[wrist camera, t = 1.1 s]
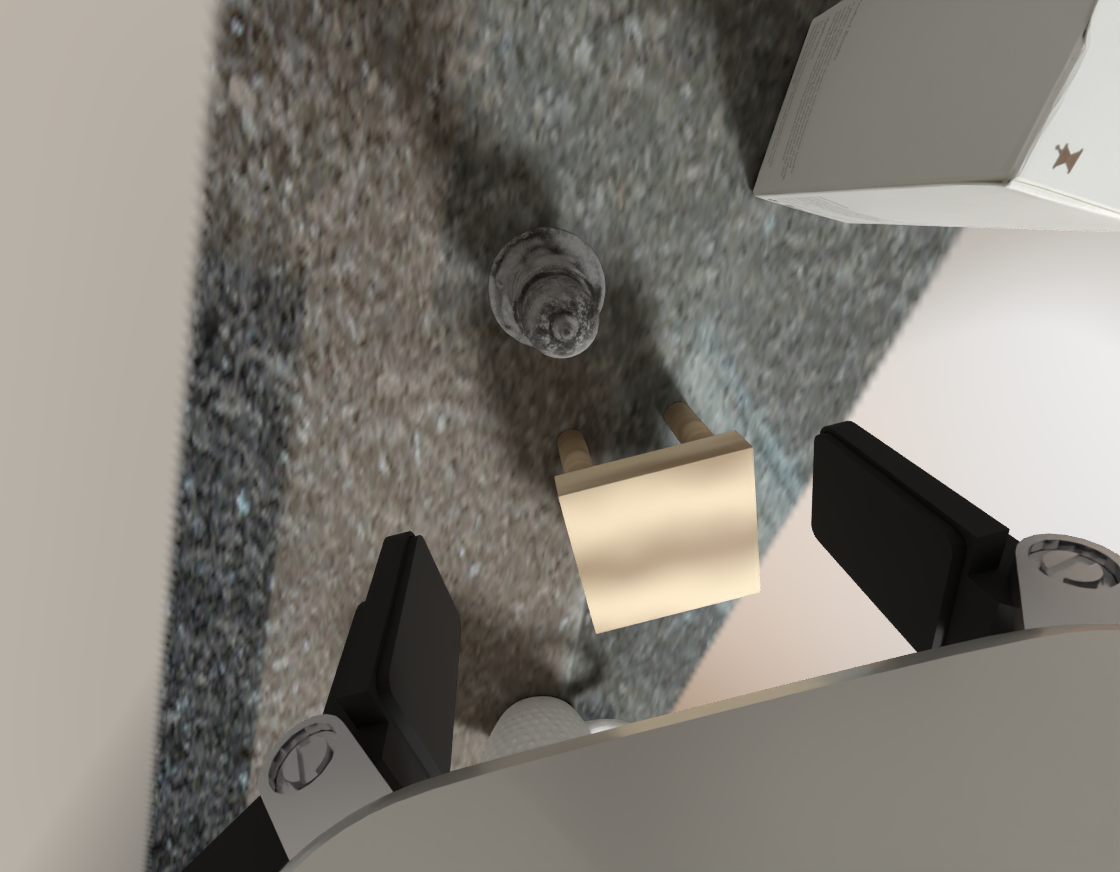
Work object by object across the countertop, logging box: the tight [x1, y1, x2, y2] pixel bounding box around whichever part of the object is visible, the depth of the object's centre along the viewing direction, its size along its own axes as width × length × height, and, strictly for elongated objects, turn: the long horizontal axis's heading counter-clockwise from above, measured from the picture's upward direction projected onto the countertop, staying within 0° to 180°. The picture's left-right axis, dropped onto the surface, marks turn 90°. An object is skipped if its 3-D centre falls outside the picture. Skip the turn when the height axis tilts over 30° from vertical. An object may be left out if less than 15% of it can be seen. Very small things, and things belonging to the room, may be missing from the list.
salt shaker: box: [488, 227, 606, 358], centre depth 22 cm, size 6×6×12 cm
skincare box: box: [753, 0, 1120, 232], centre depth 19 cm, size 8×7×16 cm
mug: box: [481, 696, 630, 763], centre depth 39 cm, size 15×11×13 cm
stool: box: [554, 402, 760, 634], centre depth 30 cm, size 10×10×8 cm
